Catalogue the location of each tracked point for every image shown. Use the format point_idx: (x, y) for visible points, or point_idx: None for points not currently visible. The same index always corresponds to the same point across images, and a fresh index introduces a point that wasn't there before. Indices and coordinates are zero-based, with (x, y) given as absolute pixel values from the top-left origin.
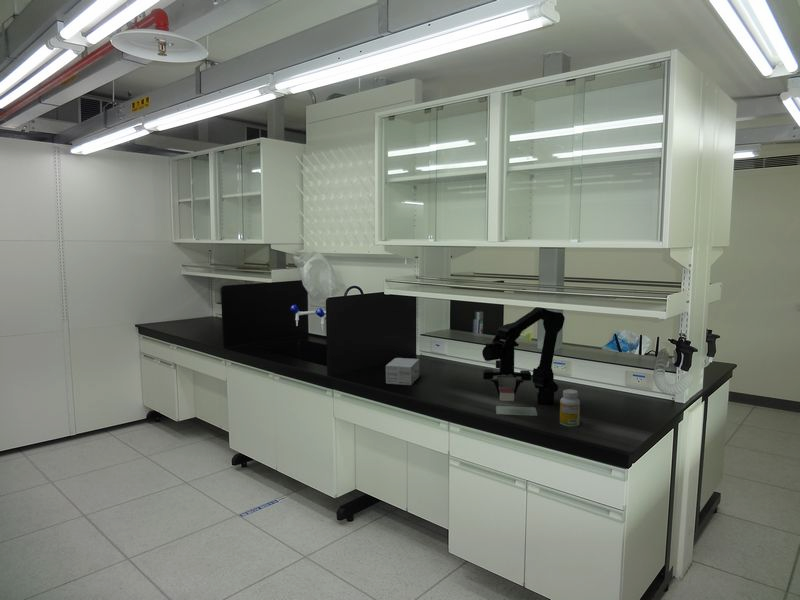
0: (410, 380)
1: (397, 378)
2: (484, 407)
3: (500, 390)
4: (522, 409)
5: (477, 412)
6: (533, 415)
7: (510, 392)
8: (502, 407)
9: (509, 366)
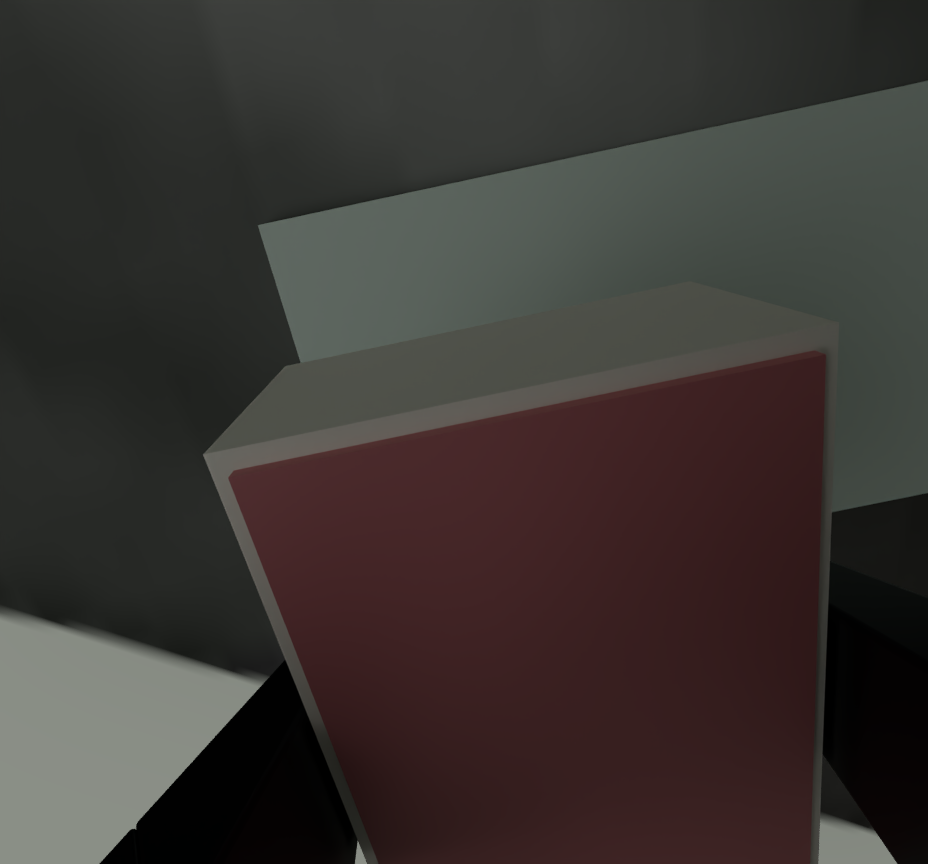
0: None
1: None
2: (75, 303)
3: (373, 834)
4: (753, 270)
5: (84, 572)
6: (894, 498)
7: None
8: (396, 272)
9: None
